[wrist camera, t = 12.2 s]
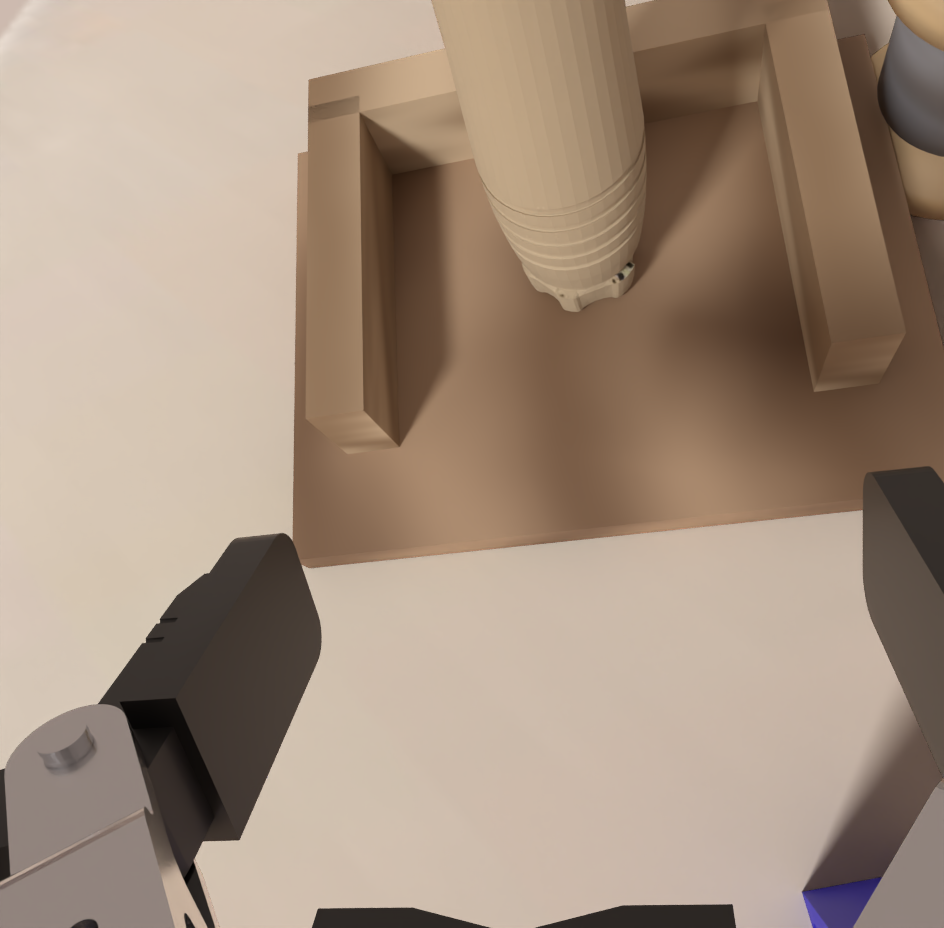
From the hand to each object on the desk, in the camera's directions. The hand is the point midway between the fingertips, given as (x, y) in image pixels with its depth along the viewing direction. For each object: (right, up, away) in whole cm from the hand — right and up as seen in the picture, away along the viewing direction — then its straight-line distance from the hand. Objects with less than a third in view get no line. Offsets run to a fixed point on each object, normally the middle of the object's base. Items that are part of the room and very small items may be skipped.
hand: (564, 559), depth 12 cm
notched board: (+2, +6, +14) cm, 15 cm away
